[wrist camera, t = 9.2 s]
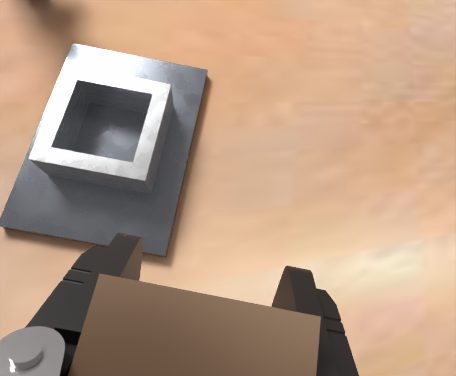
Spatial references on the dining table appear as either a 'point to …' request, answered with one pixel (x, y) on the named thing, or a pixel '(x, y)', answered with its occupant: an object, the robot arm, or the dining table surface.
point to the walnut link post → (190, 335)
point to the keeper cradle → (109, 150)
